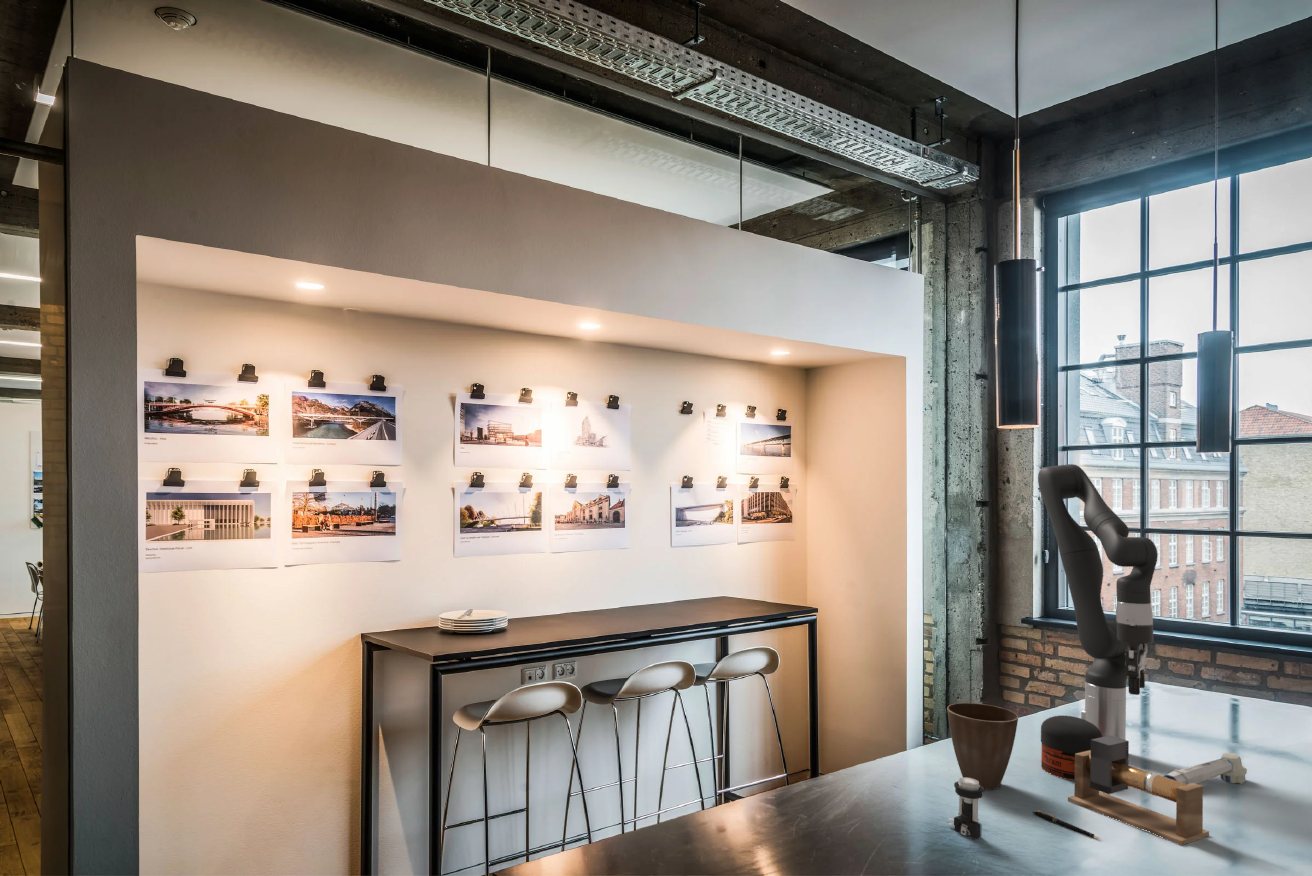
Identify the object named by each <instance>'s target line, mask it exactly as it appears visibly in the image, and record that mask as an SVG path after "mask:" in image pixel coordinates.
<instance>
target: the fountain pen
mask: <svg viewBox="0 0 1312 876" xmlns="http://www.w3.org/2000/svg"><path fill="white" fill-rule="evenodd" d="M1032 813H1033V814H1034V816H1036V817H1038V818H1040V819H1043V820H1044V821H1048V822H1049V823H1052V824H1054V825H1057V824H1058V826H1061V827H1062V828H1065V829H1068V830H1071V831H1073V832H1074V833H1075V832H1076V833H1078V834H1081V835H1083V836H1086V837H1089V838H1091V839H1094V838H1095V839H1101V837H1098V836H1096V835H1095V834H1094V833H1092V832H1089V831H1088V830H1085V829H1083V828H1080V827H1078V826H1076V825H1075V824H1071V823H1068V822H1066V821H1063V820H1061V819H1059V818H1057V817H1056V815H1054V814H1051V813H1048V812H1045V811H1042V810H1038V809H1036V810H1035V811H1032Z"/></svg>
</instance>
